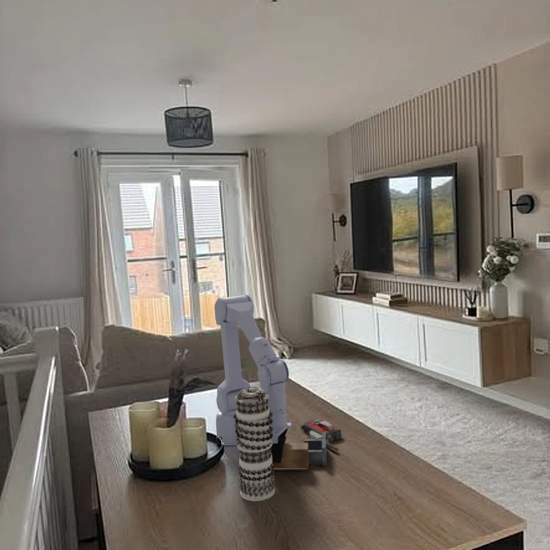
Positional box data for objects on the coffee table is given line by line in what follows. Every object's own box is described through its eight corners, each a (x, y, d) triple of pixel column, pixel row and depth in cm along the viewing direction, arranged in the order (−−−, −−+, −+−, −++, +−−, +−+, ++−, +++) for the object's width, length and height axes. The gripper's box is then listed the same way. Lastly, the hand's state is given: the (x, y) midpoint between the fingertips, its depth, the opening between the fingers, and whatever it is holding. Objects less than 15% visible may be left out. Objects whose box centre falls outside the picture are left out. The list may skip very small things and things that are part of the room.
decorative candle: (272, 503, 117) (266, 397, 115) (233, 500, 119) (227, 396, 117) (280, 483, 126) (274, 384, 124) (244, 481, 128) (238, 384, 126)
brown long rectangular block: (246, 468, 132) (245, 449, 132) (248, 461, 136) (247, 443, 135) (308, 468, 130) (307, 449, 130) (308, 461, 134) (308, 442, 134)
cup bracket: (303, 466, 135) (302, 447, 134) (304, 449, 144) (304, 432, 144) (326, 466, 134) (325, 447, 134) (326, 449, 144) (325, 432, 143)
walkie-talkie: (295, 432, 158) (334, 455, 141) (294, 418, 157) (333, 440, 140) (318, 425, 162) (359, 447, 145) (317, 412, 162) (358, 432, 145)
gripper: (288, 418, 124) (291, 471, 125) (292, 398, 138) (294, 446, 140) (259, 418, 125) (262, 472, 126) (266, 398, 139) (268, 446, 140)
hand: (277, 458), depth 133 cm, fingers closed on brown long rectangular block, 4 cm apart
